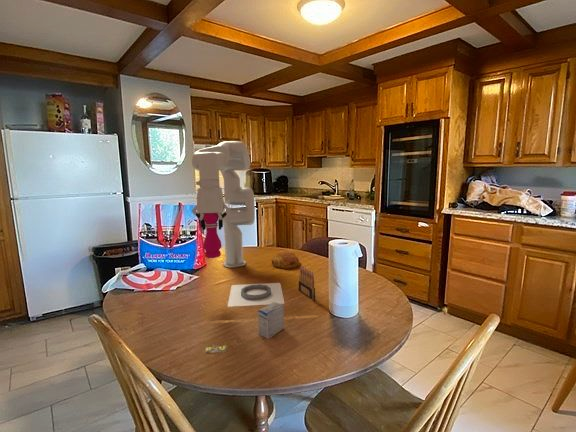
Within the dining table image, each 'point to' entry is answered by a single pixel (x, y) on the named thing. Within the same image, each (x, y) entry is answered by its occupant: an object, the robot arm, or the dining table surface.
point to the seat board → (238, 300)
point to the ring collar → (256, 297)
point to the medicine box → (271, 319)
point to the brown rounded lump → (285, 260)
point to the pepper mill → (211, 236)
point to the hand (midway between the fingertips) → (212, 228)
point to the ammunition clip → (306, 283)
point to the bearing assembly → (216, 349)
